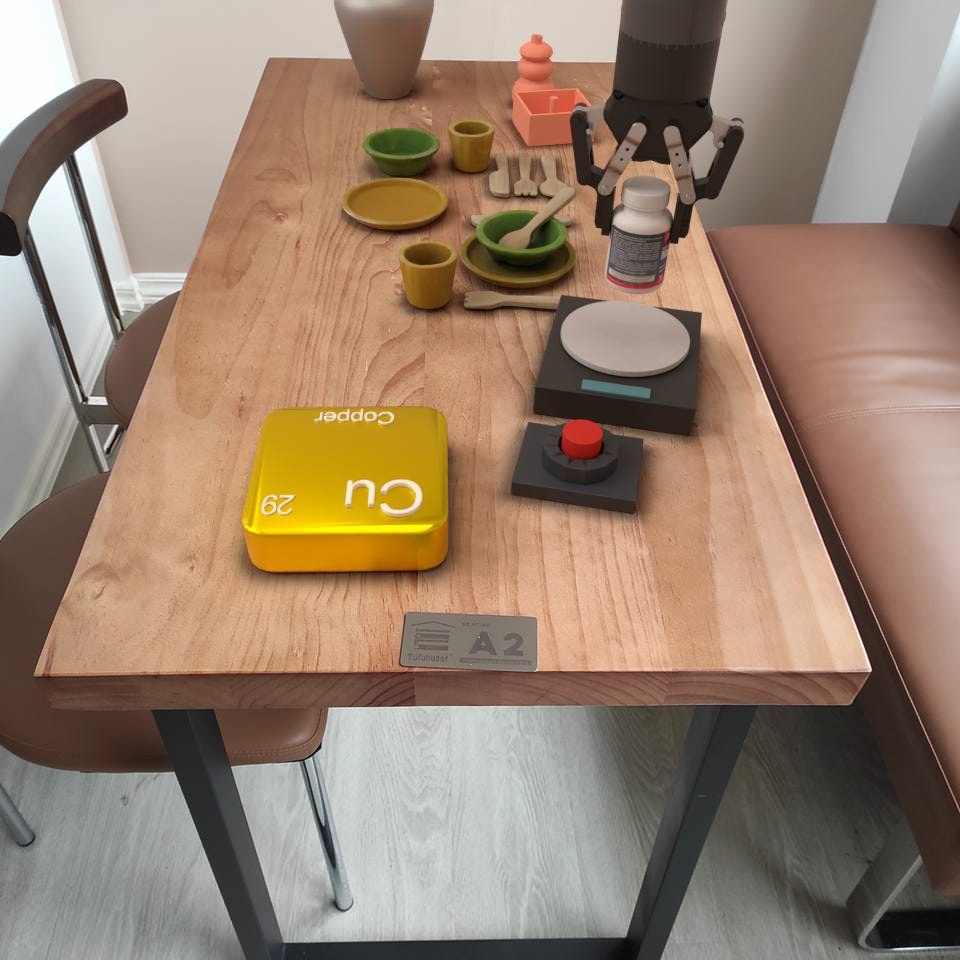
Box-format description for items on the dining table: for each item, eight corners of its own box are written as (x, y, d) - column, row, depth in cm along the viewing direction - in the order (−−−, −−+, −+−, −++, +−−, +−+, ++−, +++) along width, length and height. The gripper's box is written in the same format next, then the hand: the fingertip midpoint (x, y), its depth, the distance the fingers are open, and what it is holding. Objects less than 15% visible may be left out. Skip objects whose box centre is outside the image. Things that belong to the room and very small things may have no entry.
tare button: (602, 439, 77) (604, 422, 76) (598, 463, 75) (600, 446, 73) (564, 433, 77) (566, 416, 76) (558, 457, 75) (560, 440, 74)
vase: (424, 113, 136) (420, -83, 120) (329, 104, 138) (312, -89, 121) (443, 79, 147) (442, -105, 130) (355, 72, 149) (343, -111, 132)
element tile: (447, 443, 80) (447, 399, 77) (448, 572, 69) (448, 526, 66) (272, 444, 80) (264, 400, 76) (245, 575, 68) (235, 529, 65)
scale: (696, 337, 93) (703, 305, 91) (690, 436, 82) (697, 401, 79) (558, 319, 95) (561, 287, 93) (533, 413, 84) (535, 379, 81)
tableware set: (585, 320, 95) (591, 265, 91) (314, 314, 95) (308, 259, 91) (562, 155, 126) (566, 108, 122) (357, 151, 126) (354, 103, 121)
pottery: (593, 141, 130) (601, 68, 123) (528, 146, 128) (532, 72, 121) (557, 95, 143) (562, 27, 136) (498, 99, 141) (500, 30, 134)
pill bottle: (666, 296, 81) (683, 200, 75) (606, 295, 81) (618, 199, 75) (658, 266, 85) (674, 172, 79) (601, 265, 85) (612, 171, 79)
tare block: (641, 450, 80) (646, 423, 78) (633, 514, 74) (638, 486, 72) (527, 434, 81) (529, 406, 79) (510, 494, 76) (512, 466, 74)
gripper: (567, 31, 67) (551, 246, 78) (771, 48, 65) (724, 267, 76) (580, 2, 72) (563, 207, 84) (769, 17, 70) (725, 225, 81)
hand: (640, 235), depth 80 cm, fingers closed on pill bottle, 5 cm apart
